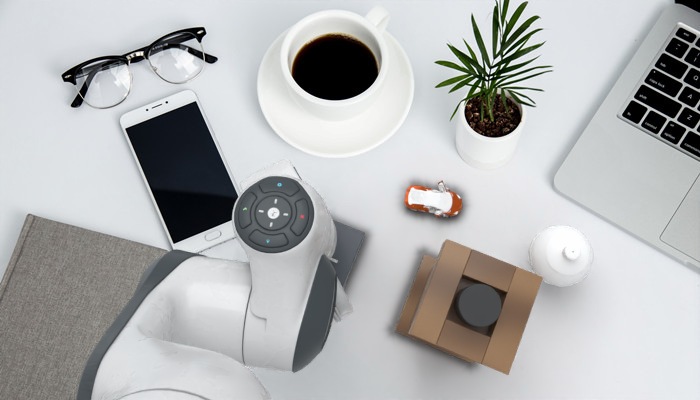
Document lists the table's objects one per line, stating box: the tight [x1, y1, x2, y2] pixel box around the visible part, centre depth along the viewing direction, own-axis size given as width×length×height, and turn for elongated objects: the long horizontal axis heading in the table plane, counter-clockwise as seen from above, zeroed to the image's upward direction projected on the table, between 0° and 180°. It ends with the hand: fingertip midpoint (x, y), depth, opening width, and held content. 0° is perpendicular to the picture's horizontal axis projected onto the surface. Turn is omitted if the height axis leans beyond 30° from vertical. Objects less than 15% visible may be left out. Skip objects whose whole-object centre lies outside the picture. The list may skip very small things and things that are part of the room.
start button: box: [455, 284, 502, 327], centre depth 59 cm, size 4×4×3 cm
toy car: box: [404, 179, 463, 219], centre depth 84 cm, size 5×8×3 cm, turn 78°
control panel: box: [330, 219, 366, 290], centre depth 83 cm, size 10×12×3 cm
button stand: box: [394, 238, 543, 376], centre depth 71 cm, size 11×11×24 cm
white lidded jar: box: [528, 224, 594, 288], centre depth 78 cm, size 8×8×12 cm
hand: (309, 249), depth 81 cm, fingers closed on dial knob, 4 cm apart
